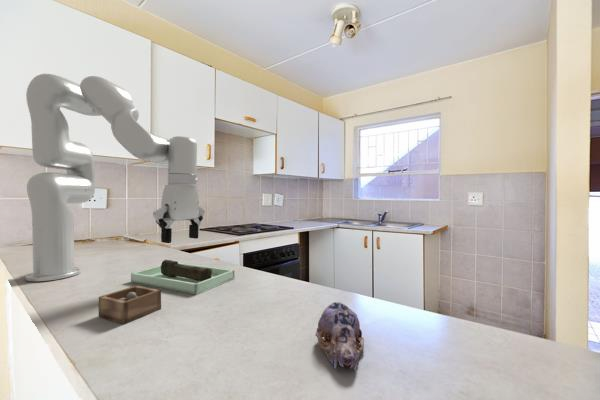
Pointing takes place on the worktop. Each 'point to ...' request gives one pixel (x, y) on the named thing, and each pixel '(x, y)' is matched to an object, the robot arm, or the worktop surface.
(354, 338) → the skull
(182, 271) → the dark brown tapered bar
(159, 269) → the tray
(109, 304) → the gravel box
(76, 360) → the worktop surface
